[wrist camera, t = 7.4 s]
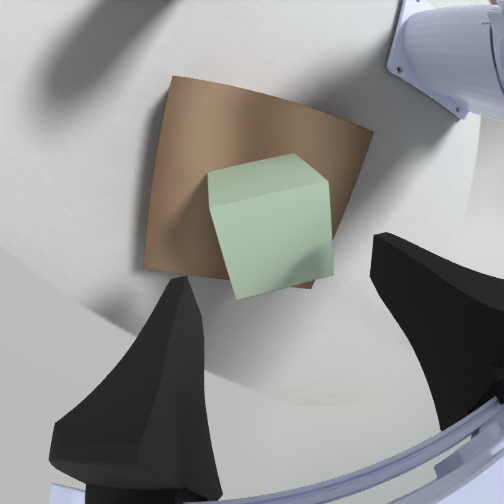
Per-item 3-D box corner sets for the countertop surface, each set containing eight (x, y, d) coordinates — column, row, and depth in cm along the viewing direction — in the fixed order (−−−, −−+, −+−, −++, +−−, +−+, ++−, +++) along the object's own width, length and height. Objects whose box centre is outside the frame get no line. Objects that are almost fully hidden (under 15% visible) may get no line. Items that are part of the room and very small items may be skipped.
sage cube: (294, 153, 16) (328, 181, 12) (304, 228, 19) (333, 274, 14) (207, 172, 16) (209, 208, 12) (227, 247, 18) (236, 299, 14)
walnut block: (348, 123, 19) (373, 131, 16) (298, 262, 24) (311, 288, 21) (178, 77, 15) (172, 75, 13) (150, 241, 21) (143, 268, 18)
